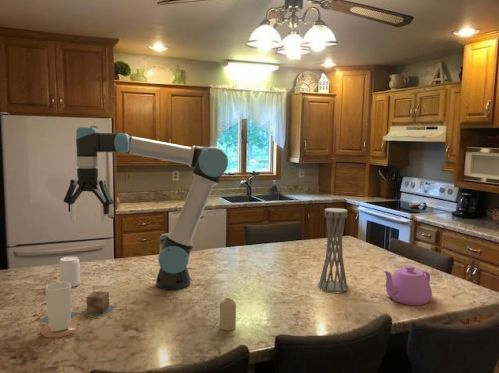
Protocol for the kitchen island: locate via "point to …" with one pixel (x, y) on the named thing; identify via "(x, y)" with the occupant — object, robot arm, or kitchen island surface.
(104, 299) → the walnut block
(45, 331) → the salmon round part
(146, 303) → the kitchen island surface
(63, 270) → the beverage can
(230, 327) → the candle
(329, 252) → the grey lattice tower
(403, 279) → the teapot
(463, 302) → the kitchen island surface
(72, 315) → the code tile
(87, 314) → the code tile
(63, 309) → the cup
